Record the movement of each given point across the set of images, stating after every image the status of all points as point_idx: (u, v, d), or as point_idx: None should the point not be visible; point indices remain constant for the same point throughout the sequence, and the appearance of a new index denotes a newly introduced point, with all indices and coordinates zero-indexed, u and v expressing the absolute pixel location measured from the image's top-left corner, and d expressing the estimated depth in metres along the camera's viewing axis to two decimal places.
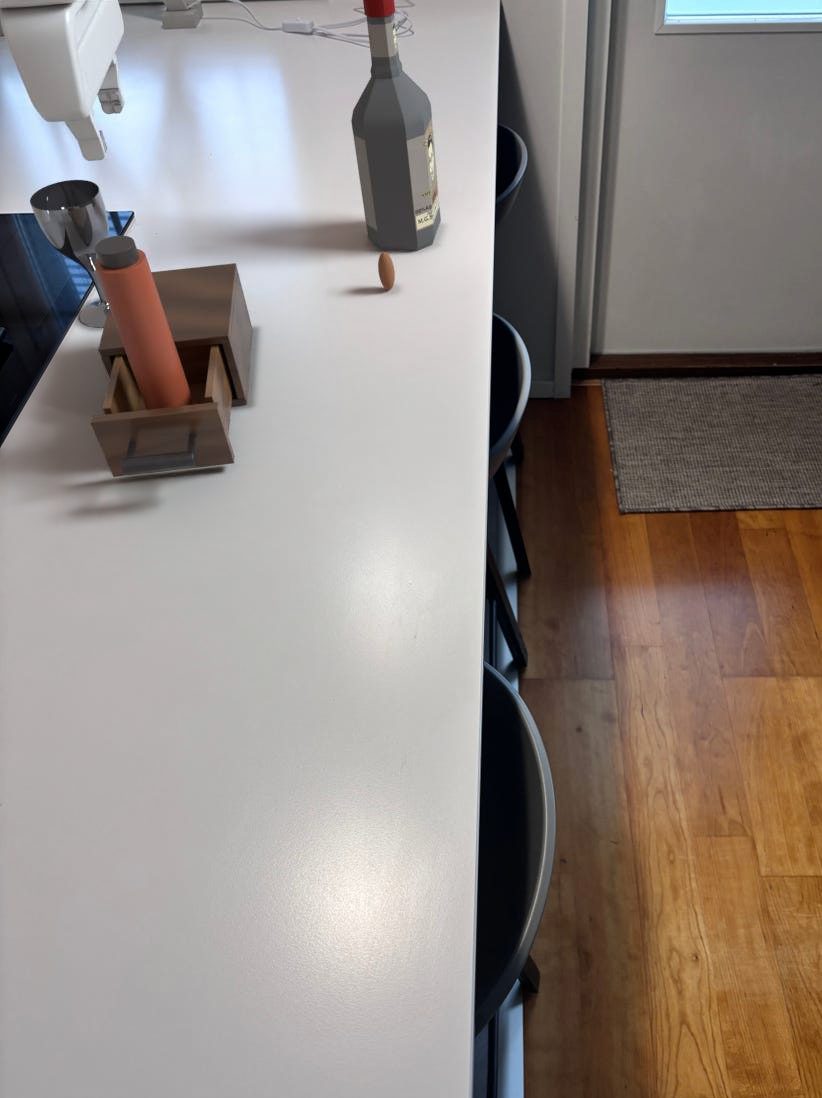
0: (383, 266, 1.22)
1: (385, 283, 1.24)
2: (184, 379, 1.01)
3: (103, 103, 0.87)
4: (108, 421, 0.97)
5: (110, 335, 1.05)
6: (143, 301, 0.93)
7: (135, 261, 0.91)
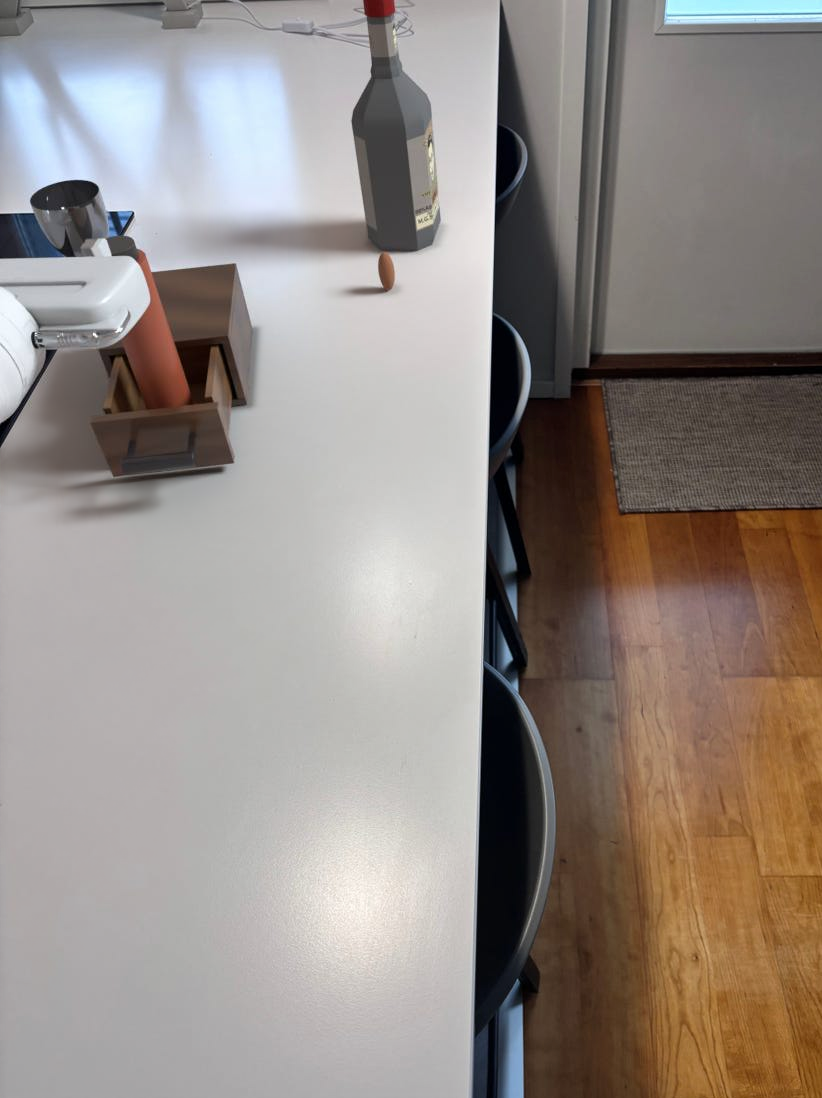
0: (383, 266, 1.22)
1: (385, 283, 1.24)
2: (184, 379, 1.01)
3: None
4: (108, 421, 0.97)
5: None
6: None
7: None
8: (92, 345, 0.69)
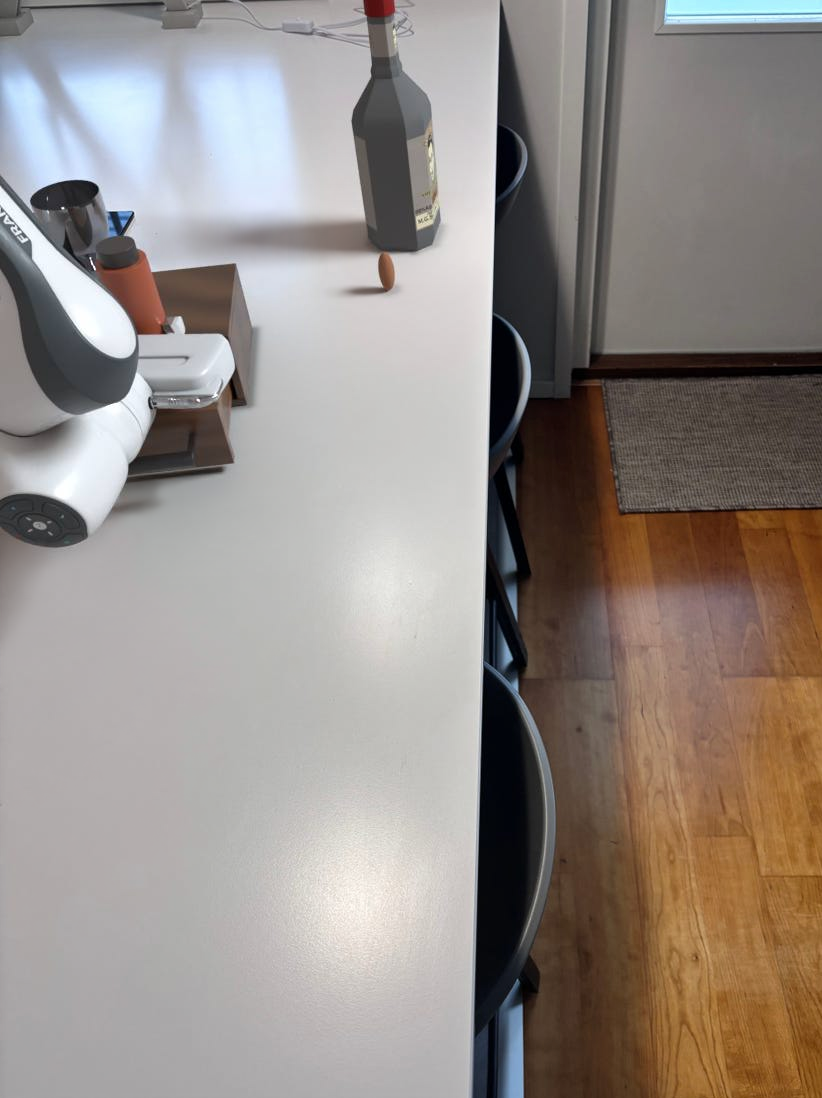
0: (383, 266, 1.22)
1: (385, 283, 1.24)
2: None
3: None
4: None
5: None
6: (144, 300, 0.93)
7: (135, 261, 0.91)
8: (195, 407, 0.88)
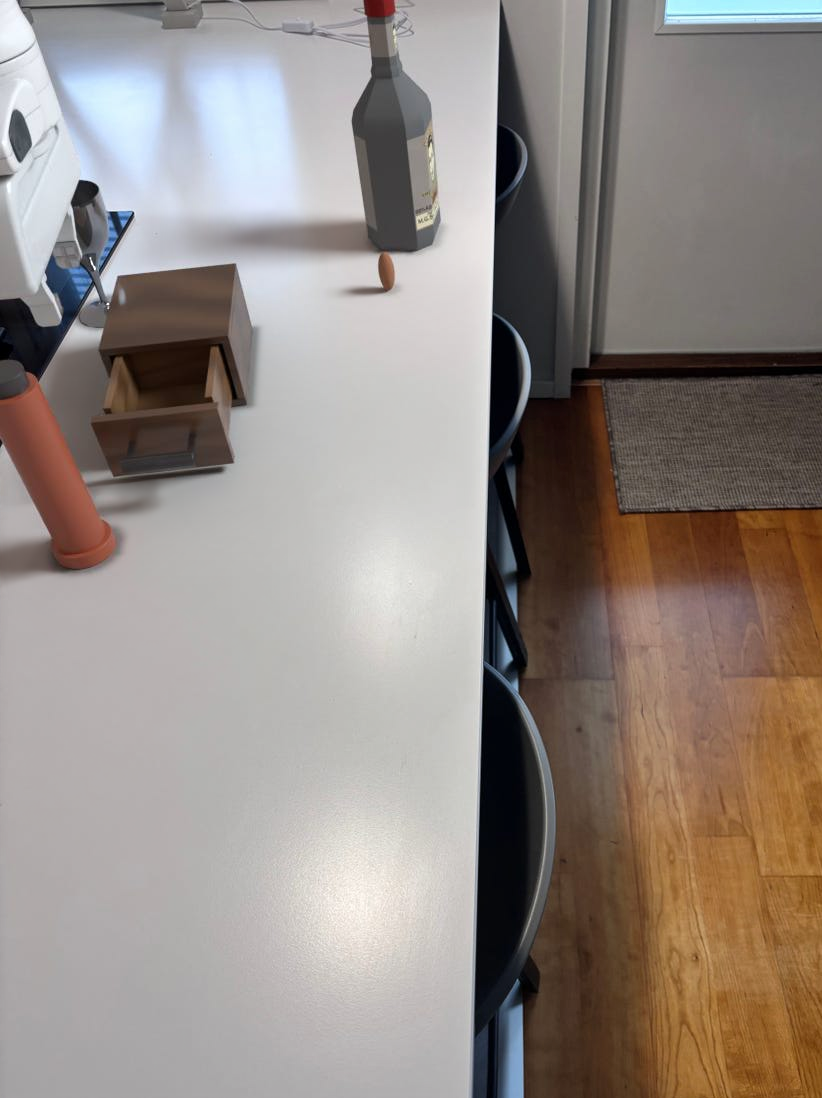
0: (383, 266, 1.22)
1: (385, 283, 1.24)
2: (90, 505, 0.92)
3: (58, 258, 0.77)
4: (108, 421, 0.97)
5: (110, 335, 1.05)
6: (36, 430, 0.83)
7: (24, 389, 0.82)
8: None
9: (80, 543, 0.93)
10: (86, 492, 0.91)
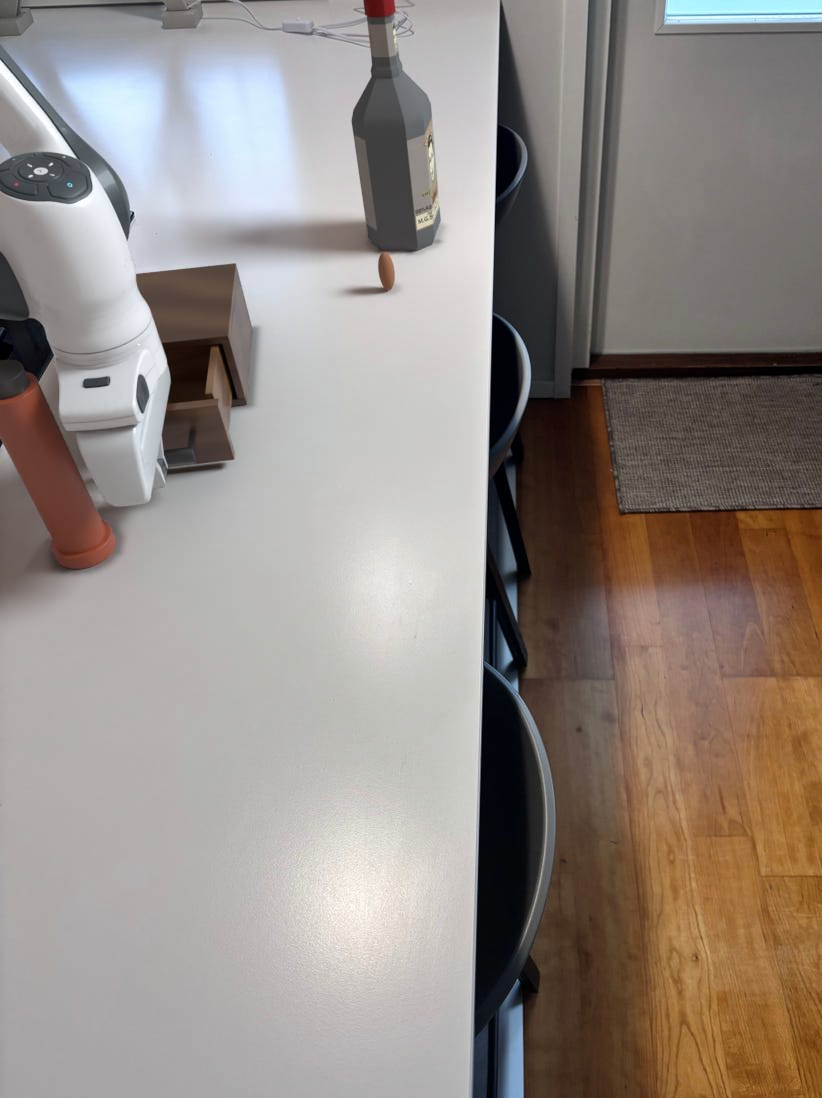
0: (383, 266, 1.22)
1: (385, 283, 1.24)
2: (90, 505, 0.92)
3: None
4: None
5: None
6: (36, 430, 0.83)
7: (24, 389, 0.82)
8: None
9: (80, 543, 0.93)
10: (86, 492, 0.91)
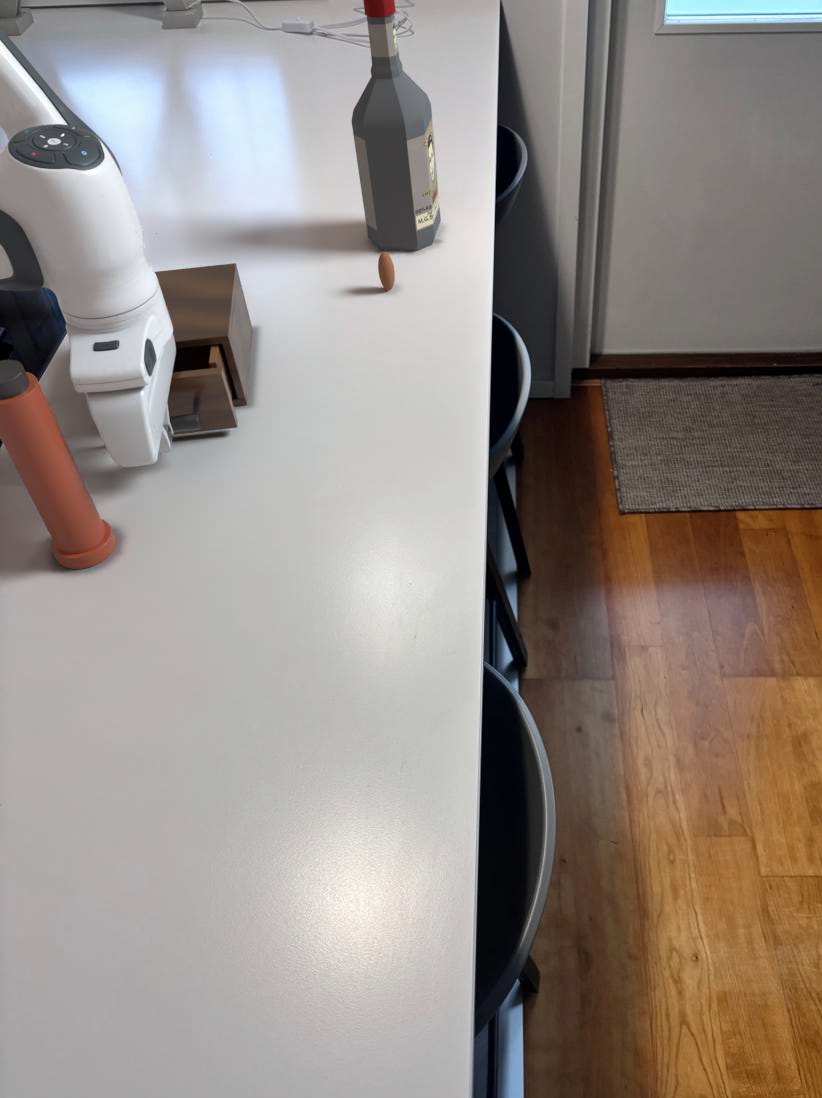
0: (383, 266, 1.22)
1: (385, 283, 1.24)
2: (90, 505, 0.92)
3: None
4: None
5: None
6: (36, 430, 0.83)
7: (24, 389, 0.82)
8: None
9: (80, 543, 0.93)
10: (86, 492, 0.91)
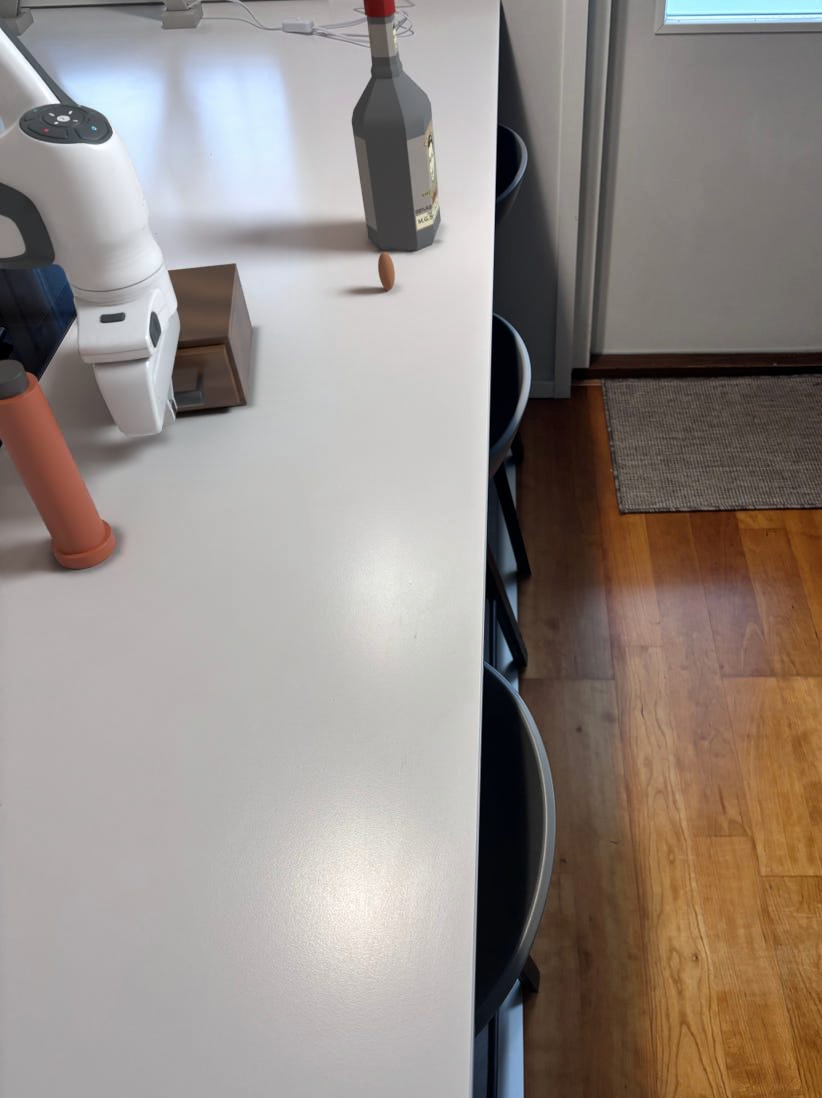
0: (383, 266, 1.22)
1: (385, 283, 1.24)
2: (90, 505, 0.92)
3: None
4: None
5: None
6: (36, 430, 0.83)
7: (24, 389, 0.82)
8: None
9: (80, 543, 0.93)
10: (86, 492, 0.91)
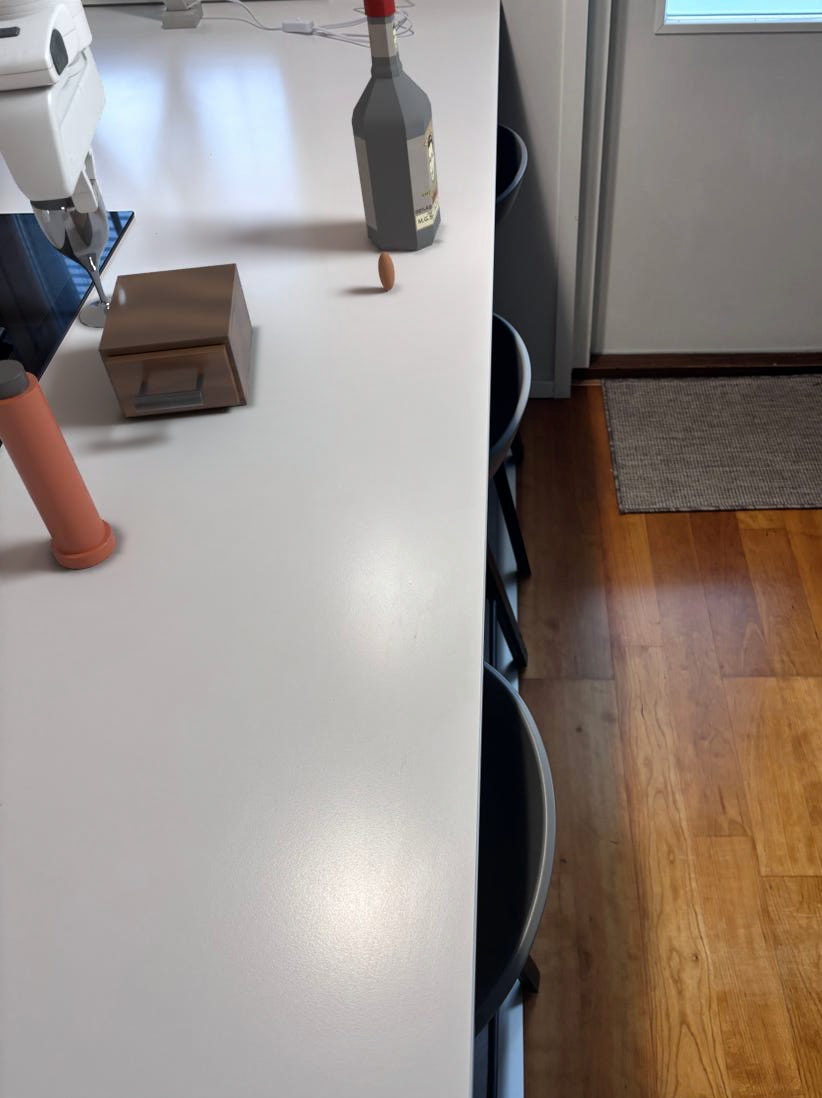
0: (383, 266, 1.22)
1: (385, 283, 1.24)
2: (90, 505, 0.92)
3: None
4: (122, 362, 1.04)
5: (110, 335, 1.05)
6: (36, 430, 0.83)
7: (24, 389, 0.82)
8: None
9: (80, 543, 0.93)
10: (86, 492, 0.91)
